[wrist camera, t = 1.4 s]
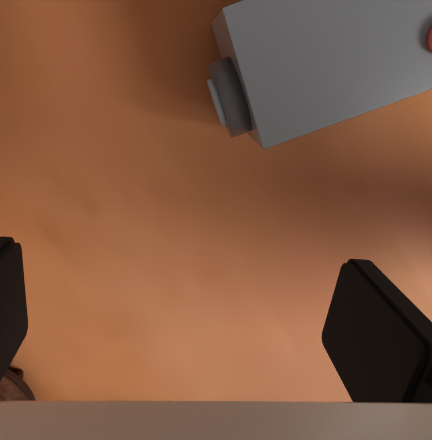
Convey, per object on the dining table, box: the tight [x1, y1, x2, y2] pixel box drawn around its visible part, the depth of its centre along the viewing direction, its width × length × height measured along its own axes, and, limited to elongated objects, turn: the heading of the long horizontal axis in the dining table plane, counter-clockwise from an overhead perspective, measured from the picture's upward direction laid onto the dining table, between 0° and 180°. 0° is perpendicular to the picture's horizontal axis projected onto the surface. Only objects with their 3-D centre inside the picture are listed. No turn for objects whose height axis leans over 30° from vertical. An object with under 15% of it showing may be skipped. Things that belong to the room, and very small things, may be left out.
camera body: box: [207, 0, 432, 149], centre depth 27 cm, size 18×9×10 cm, turn 109°
